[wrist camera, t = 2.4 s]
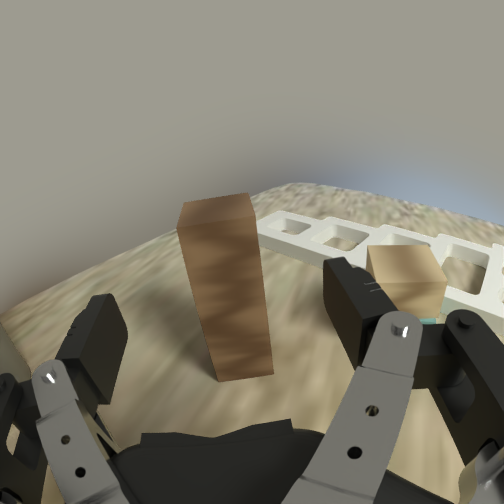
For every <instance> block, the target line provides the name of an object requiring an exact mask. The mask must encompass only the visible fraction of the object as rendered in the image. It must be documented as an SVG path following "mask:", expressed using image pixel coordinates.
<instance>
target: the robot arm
mask: <svg viewBox="0 0 504 504" xmlns="http://www.w3.org/2000/svg"><path fill="white" fill-rule="evenodd" d="M323 297H324V304H325V307H326V310H327V313H328V315H329V317H330V319H331V321H332V323H333V325H334V327H335V329H336V331H337V334H338V336H339V338H340V340H341V342H342V344H343V346H344V348H345V351H346V353H347V355H348V357H349V359H350V361H351V364H352V366H353V368H354V370H355V373H354V375H353V377H352V380H351V382H350V384H349V386H348V389H347V391H346V393H345V395H344V397H343V399H342V402H341V404H340V406H339V408H338V410H337V412H336V414H335V416H334V418H333V420H332V422H331V424H330V426H329V428H328V430H327V432H326V434H323V433H320V432H317V431H312V430H307V429H293V427H292V423H291V419H285V420H280V421H274V422H268V423H262V424H255V425H251V426H248V427H245V428H243V429H240V430H237V431H234V432H231V433H228V434H225V435H222V436H219V437H215V438H209V437H201V436H195V435H188V434H182V433H177V432H171V433H142V435H141V443H140V444H137V445H134V446H131V447H129V448H127V449H125V450H123V451H122V450H121V449H120V447H119V446H118V444H117V443H116V441H115V439H114V438H113V436H112V434H111V433H110V431H109V429H108V428H107V426H106V424H105V423H104V421H103V419H102V417H101V415H100V414H99V413H98V411H97V406H98V404H109V405H110V402H111V398H112V394H113V390H114V387H115V383H116V379H117V375H118V372H119V368H120V364H121V361H122V357H123V354H124V350H125V347H126V343H127V340H128V331H127V327H126V324H125V321H124V319H123V317H122V315H121V312H120V310H119V308H118V305H117V303H116V301H115V298H114V296H113V295H112V294H110V293H109V294H102V295H95V296H92V298H91V299H90V301H89V303H88V305H87V307H86V309H84V310H83V311H82V312H81V313H80V314H79V315H78V316H77V317H76V318H75V319H74V321H73V323H72V325H71V329H69V331H68V333H67V336H66V337H65V339H64V341H63V343H62V345H61V347H60V349H59V351H58V353H57V355H56V357H55V359H54V360H49V361H46V362H44V363H43V364H41V365H40V366H39V367H38V368H37V369H36V370H35V371H34V373H33V375H32V379H30V378H31V374H30V369H29V367H28V365H27V364H26V363H25V361H24V360H23V358H22V357H21V355H20V354H19V352H18V351H17V349H16V347H15V346H14V344H13V343H12V341H11V339H10V338H9V336H8V334H7V333H6V331H5V329H4V328H3V326H2V324H1V323H0V504H41V498H42V491H43V485H44V480H45V475H46V469H47V465H48V463H49V465H50V468H51V470H52V473H53V475H54V478H55V480H56V483H57V485H58V487H59V490H60V492H61V494H62V496H63V499H64V501H65V504H454V503H452V502H450V501H448V500H446V499H444V498H442V497H440V496H438V495H436V494H433V493H431V492H429V491H427V490H425V489H423V488H421V487H419V486H417V485H415V484H413V483H411V482H410V481H408V480H406V479H404V478H402V477H400V476H398V475H396V474H395V473H393V472H391V471H389V470H387V469H386V468H387V466H388V463H389V460H390V458H391V455H392V452H393V449H394V446H395V444H396V441H397V438H398V435H399V431H400V428H401V425H402V422H403V419H404V415H405V412H406V408H407V405H408V401H409V397H410V393H411V390H412V389H425V388H428V389H429V391H430V393H431V395H432V397H433V399H434V401H435V403H436V405H437V407H438V409H439V411H440V413H441V415H442V417H443V419H444V421H445V423H446V425H447V427H448V429H449V432H450V434H451V436H452V438H453V440H454V442H455V445H456V447H457V449H458V451H459V454H460V456H461V458H462V461H463V463H464V465H465V468H464V469H463V470H462V472H461V474H460V477H459V482H458V483H459V491H460V500H459V504H504V345H503V343H502V342H501V341H500V340H499V338H498V337H497V336H496V335H495V333H494V332H493V331H492V330H491V328H490V327H489V326H488V325H487V324H486V322H485V321H484V320H483V319H482V318H481V317H480V316H479V315H478V314H477V313H475V312H473V311H470V310H466V309H458V310H454V311H452V312H450V313H449V314H448V316H447V318H446V321H445V324H422V323H421V321H420V320H419V319H418V318H417V317H416V316H415V315H413V314H411V313H408V312H404V311H399V310H398V309H397V307H396V306H395V305H394V303H393V302H392V301H391V300H390V298H389V297H388V296H387V294H386V293H385V292H384V290H383V289H381V287H380V285H379V284H378V283H376V280H375V279H374V278H373V276H372V275H371V274H370V273H369V272H367V271H366V270H364V269H362V268H360V267H356V268H352V266H351V265H350V264H349V262H348V261H347V260H346V258H345V257H344V256H342V257H337V258H331V259H325V260H324V261H323ZM12 423H13V424H14V425H15V426H16V428H17V429H18V430H19V431H20V434H19V437H18V440H17V444H16V447H15V451H14V454H13V455H12V454H11V453H10V452H9V451H8V449H7V445H6V440H7V436H8V433H9V430H10V427H11V424H12Z"/></svg>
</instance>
